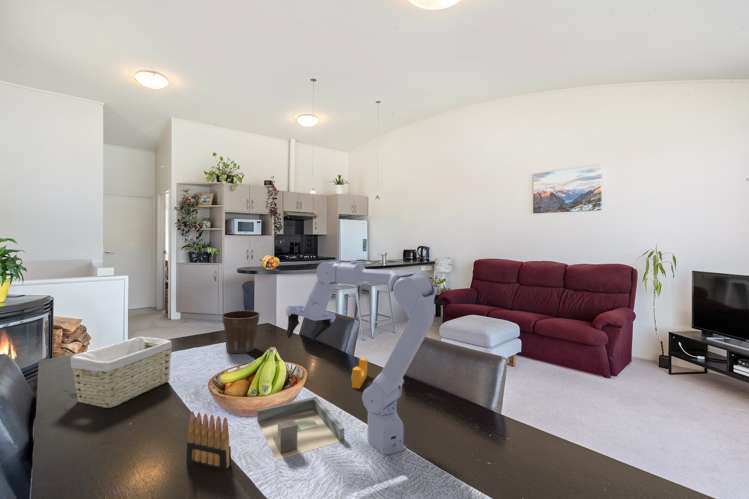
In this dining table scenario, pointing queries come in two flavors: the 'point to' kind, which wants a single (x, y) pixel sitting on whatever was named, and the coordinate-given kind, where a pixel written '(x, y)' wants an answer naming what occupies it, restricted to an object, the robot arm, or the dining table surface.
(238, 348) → the plant pot
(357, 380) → the pipe clamp
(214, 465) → the ammunition clip
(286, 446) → the bracket
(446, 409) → the dining table surface
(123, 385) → the storage basket
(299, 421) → the tray
